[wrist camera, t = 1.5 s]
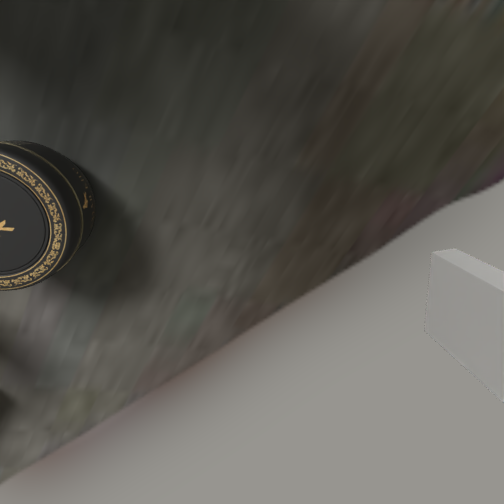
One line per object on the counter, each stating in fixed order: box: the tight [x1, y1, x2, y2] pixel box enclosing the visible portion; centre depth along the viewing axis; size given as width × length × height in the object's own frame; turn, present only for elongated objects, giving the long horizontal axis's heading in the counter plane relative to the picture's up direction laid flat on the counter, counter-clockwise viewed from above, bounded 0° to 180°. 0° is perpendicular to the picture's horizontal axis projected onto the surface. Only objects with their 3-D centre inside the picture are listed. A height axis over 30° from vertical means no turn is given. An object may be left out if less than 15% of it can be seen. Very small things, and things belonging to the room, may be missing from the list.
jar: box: [0, 141, 95, 291], centre depth 25 cm, size 10×10×8 cm
